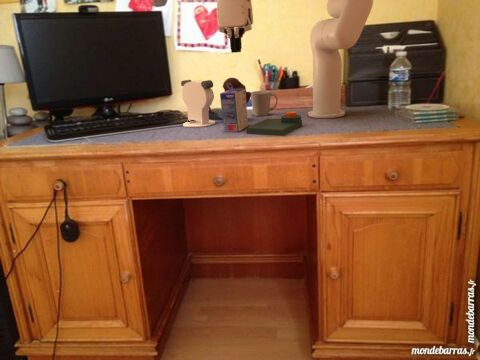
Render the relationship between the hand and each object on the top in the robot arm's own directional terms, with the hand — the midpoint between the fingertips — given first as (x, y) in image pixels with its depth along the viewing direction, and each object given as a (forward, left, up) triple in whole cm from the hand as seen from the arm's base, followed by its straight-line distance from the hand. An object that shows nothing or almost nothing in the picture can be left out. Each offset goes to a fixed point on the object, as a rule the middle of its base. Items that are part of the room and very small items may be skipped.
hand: (236, 52), depth 117 cm
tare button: (-6, +15, -20) cm, 26 cm away
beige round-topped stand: (-3, -18, -24) cm, 30 cm away
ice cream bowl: (-12, -8, -24) cm, 28 cm away
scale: (-1, +12, -24) cm, 26 cm away
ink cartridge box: (+1, -1, -24) cm, 24 cm away
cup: (-24, -3, -24) cm, 34 cm away
